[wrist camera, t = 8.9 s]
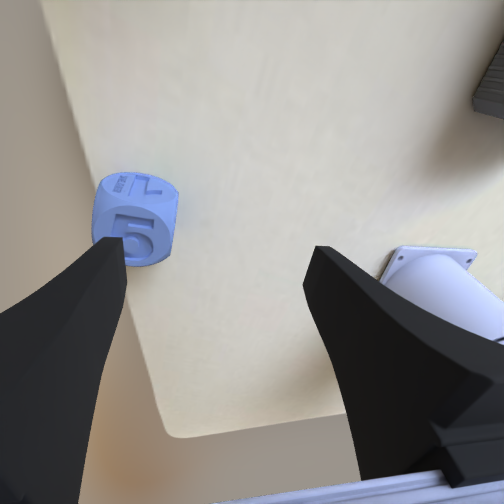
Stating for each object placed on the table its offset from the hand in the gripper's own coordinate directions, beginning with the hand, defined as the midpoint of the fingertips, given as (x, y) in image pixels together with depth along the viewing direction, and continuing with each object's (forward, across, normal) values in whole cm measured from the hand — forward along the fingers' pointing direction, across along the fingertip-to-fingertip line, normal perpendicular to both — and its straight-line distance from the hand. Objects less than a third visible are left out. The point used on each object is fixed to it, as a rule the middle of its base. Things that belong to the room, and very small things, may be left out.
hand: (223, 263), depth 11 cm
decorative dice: (+9, +4, +2) cm, 10 cm away
